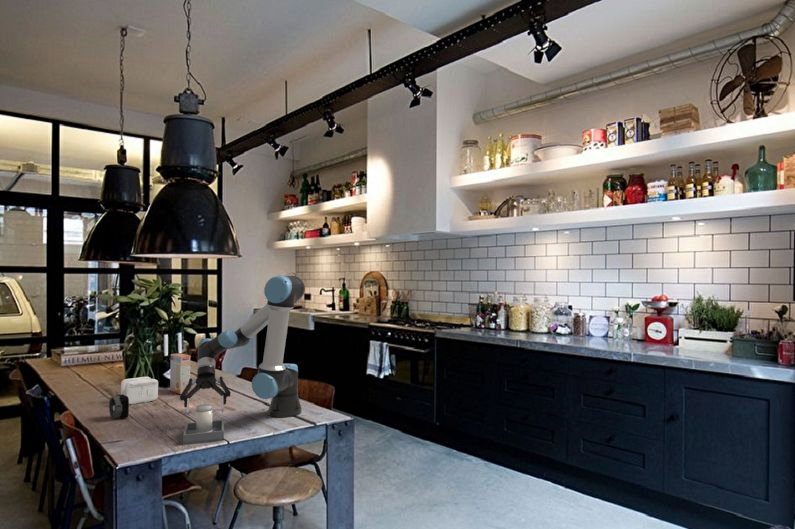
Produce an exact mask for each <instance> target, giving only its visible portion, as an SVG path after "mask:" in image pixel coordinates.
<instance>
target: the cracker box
mask: <svg viewBox="0 0 795 529" xmlns="http://www.w3.org/2000/svg"><path fill="white" fill-rule="evenodd" d="M191 357H192V356H191V355H190V354H185V353H181V352H180V353H179V352H178V353H177V352H176V353H171V354H170V368H169V369H170V378H169V391H170V392H172V393H175V394H176V395H177V394H178V395H180V394H182V392H183V391H184V389H185V388H186V386H187V385H188V383H189V379H190V378H191ZM190 391H191V389H190V390H189V391H188V393H189V392H190ZM188 393H187V394H188Z"/></svg>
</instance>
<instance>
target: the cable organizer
mask: <svg viewBox="0 0 795 529" xmlns="http://www.w3.org/2000/svg"><path fill="white" fill-rule="evenodd" d="M122 394H123V395H125V396H127V397H128V399H129V405H130V404H134V405H137V404H136V403H138V404H142V403H145V402H146V403H151V402H150V401H156V400H157V399H158V398H159V381H158V380H157V379H155V378H151V377H149V376H141V377H140V376H139V377H133V378H125V379H122V381H121V382H120V395H122Z"/></svg>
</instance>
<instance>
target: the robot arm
mask: <svg viewBox="0 0 795 529" xmlns="http://www.w3.org/2000/svg"><path fill="white" fill-rule="evenodd" d="M305 291H306V286H305V282H304V281H303V279H302V278H300V277H299V276H296V275H276V276H273V277H271V278H270V279H269V280H267V282H266V284H265V286H264V289H263V294H264V297H265V298H266V300H267V301H266V304H265V305H264V306H263V307H261V308H260V309H259V310H258V311H257V312H256V313H255V314H253V316H251V317H250V318H249V319H247V321H246V322H244V323H243V324H242V325H241V326H240V327H239V328H238V329H236V331H233V330H231V329H226V330H224V331H223V332H221V333H220V334H218V335H216V336H215V337H214V338H210V337H209V338H208V337H207V338H205V339H201V340H200V341H199V342H198V348H197V363H196V364H197V366H196V367H197V368H196V369H197V371H196V372H197V373H196V379H193V378H191V377H190V379H189V383H188V385H187V386H186V388H185V389H184V391H183V392H182V394H181V395H180V394H179V400H180V401H181V402H182V401H183V402H184V403H183V407H184V408H186V416H189V415H190V399H191V398H192V397H193V396H194V395H195V394H196V393H197V392H198V391H200V390H206V389H207V390H209V389H212V390H214V391H215V392H216V393H217V394H218V395H219V396H221V413H224V405H226V404H227V398H228V397H229V398H230V397H231V391H230V389H229V388H228V386H227V385H226V383H225V381H224V379H223V376H219V377H218V378H217V377H216V357H217V356H218V355H220V354H222V353H223V352H225V351H226V350H231V349H235V348H239V347H245V346H247V345H249V344H250V343H251V340H252V339H253V337H254V336H256V335H257V334H258V333H259V332H261V331H262V330H263V329H264V328H265V327H266V326H267V331H266V337H265V344H264V350H263V351H264V352H263V358H262V359H263V360H262V363H260V364H259V365H258V369H257V374H255V375H254V377H253V378H252V381H251V388H252V391H253V393H254V394H255V396H256V397H258V398H260V399H263V400H269V399H271V401H270V403H269V405H268V411H267V412H268V416H271V417H274V418H287V417H288V418H289V417H294V416H297V415H300V414H302V408H303V407H302V405H301V404H302V403H301V401H300V398H299V395H298V393H299V389H298V388H299V369H298V368H299V367H298V365H297V364H296V363H284V356H285V355H284V354H285V348H286V342H287V340H286V339H287V335H288V328H289V327H288V326H289V318H290V313H291V312H290V311H291V310H293V309H294V308H295V304H296V303H297V302H299V300H301V299H302V297H303V296H304V294H305ZM216 383H218V384H219V385H220V387H221V388H222V389H221V388H220V387H219V386H218V385H217V384H216ZM194 385H195V386H194ZM192 386H194V387H193V388H192ZM191 388H192V389H191ZM189 390H190V392H189V393H188V391H189Z"/></svg>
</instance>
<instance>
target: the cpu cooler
mask: <svg viewBox="0 0 795 529" xmlns="http://www.w3.org/2000/svg"><path fill="white" fill-rule="evenodd" d="M108 404H109V405H108V408H109V409H108V411H109V414H110V418H111V419H112V420H116V419H127V418H129V414H130V413H129V411H130V410H129V409H130V404H129V399H128V397H127V396H125V395H123V394H122V395H121V394H118V395H115V396H112V397H110V399H109V403H108Z"/></svg>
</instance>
